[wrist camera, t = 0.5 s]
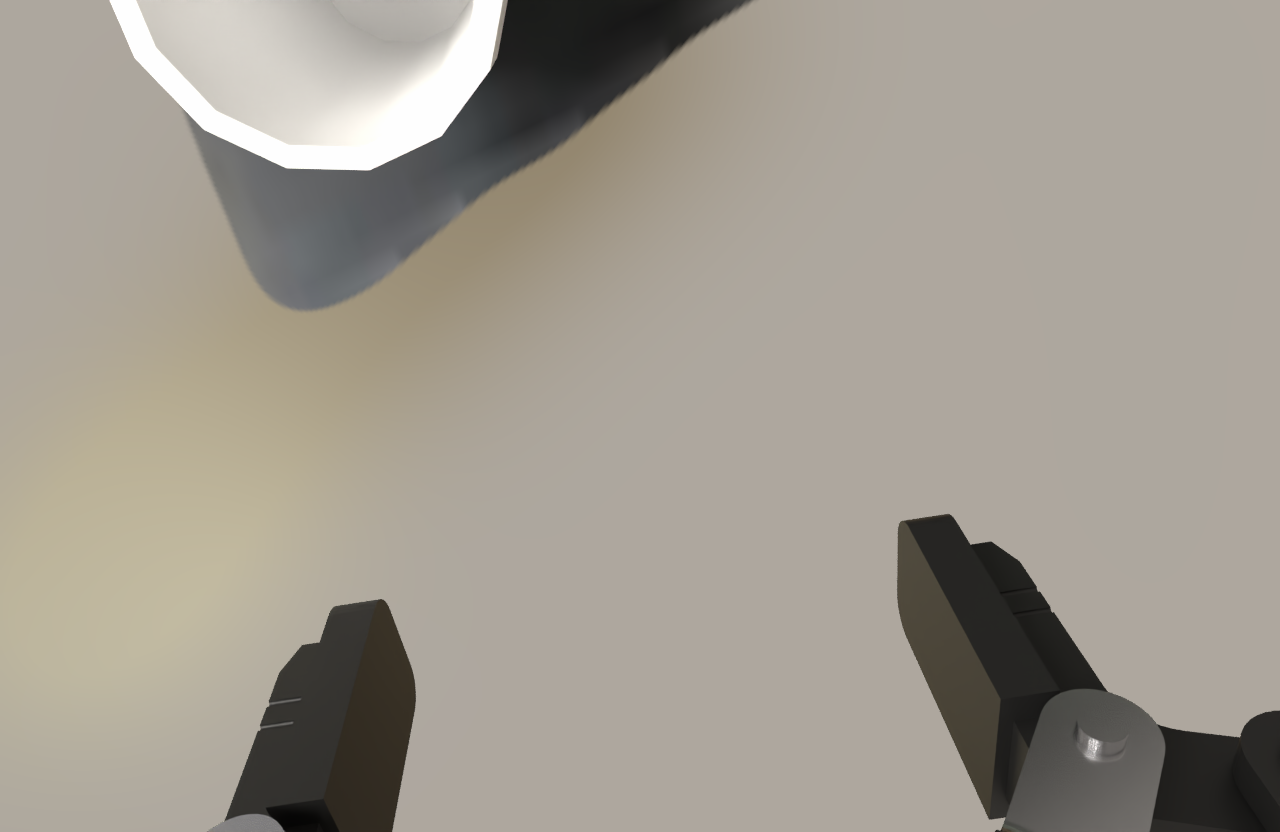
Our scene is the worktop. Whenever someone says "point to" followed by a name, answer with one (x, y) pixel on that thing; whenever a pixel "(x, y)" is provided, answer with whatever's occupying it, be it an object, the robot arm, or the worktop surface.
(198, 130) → the worktop surface
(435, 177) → the worktop surface
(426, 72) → the foam cup
